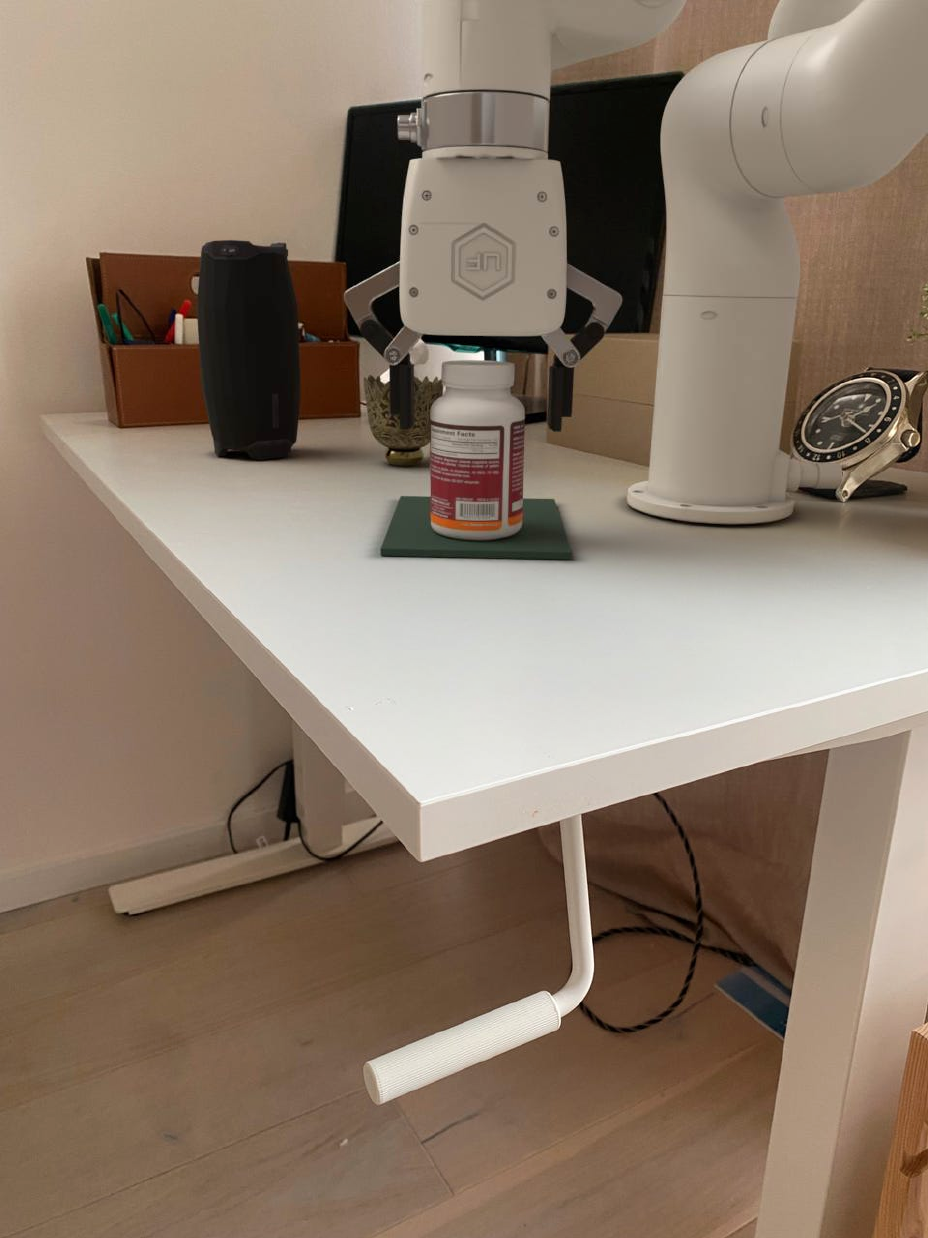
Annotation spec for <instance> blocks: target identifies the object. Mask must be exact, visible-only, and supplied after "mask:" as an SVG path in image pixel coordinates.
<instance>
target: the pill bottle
mask: <svg viewBox="0 0 928 1238" xmlns="http://www.w3.org/2000/svg"><path fill="white" fill-rule="evenodd" d="M515 369H516V368H515V363H514V362H508V361H502V360H500V361H499V360H485V359H484V360H483V359H482V360H480V359H478V360H477V359H462V360H459V359H458V360H447V361H443V362H441V373H440V379H441V381H442V385H443V386H444V387H445V390H444V392H443V395H442V396H441V397H439V398H438V399H437V400H436V401H435V402H434V403H433V405H432V407H431V411H430V443H429V446H430V447H429V448H430V450H429V451H430V452H429V453H430V457H429V458H430V459H429V461H430V467H429V468H430V472H429V473H430V474H429V475H430V477H429V478H430V479H429V480H430V497H431V525H432V528H433V530H434V531H435V532H436V533H438V534H440V535H443V536H446V537H450V538H455V539H462V540H477V541H485V540H495V539H500V538H505V537H509V536H511V535H514V534H515V533H517V532H518V531H519V530H520V529H521V526H522V517H523V498H524V469H525V467H524V465H525V461H524V460H525V429H526V428H525V427H526V426H525V425H526V411H525V406H524V404H523V403H522V402H521V400H520V399H519V398H517V397H516V396H513V395H512V392H511V387H513V386H515Z"/></svg>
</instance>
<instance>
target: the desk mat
mask: <svg viewBox="0 0 928 1238" xmlns="http://www.w3.org/2000/svg"><path fill="white" fill-rule="evenodd" d="M379 550H380V551H379V552H380V554H379V555H380V557H418V558H419V557H424V558H465V559H466V558H470V559H471V558H473V559H474V558H475V559H514V560H515V559H518V560H519V559H521V560H572V559H573V557H572V555H573V552H572V550H571V546H570V543H569V541H568V537H567V534H566V531H565V528H564V525H563V521H562V518H561V516H560V512H559V510H558V507H557V504H556V501H555V499H554V498H524V497H523V517H522V526H521V529H520V530H519V531H518V532H517V533H515V534H514V535H511V536H509V537H505V538H500V539H495V540H485V541H477V540H462V539H455V538H450V537H446V536H443V535H440V534H438V533H436V532H435V531H434V530H433V528H432V525H431V496H419V495H418V496H417V495H410V496H409V495H400V496H399V499H398V502H397V505H396V507H395V510H394V512H393V515H392V517H391V520H390V523H389V526H388V528H387V531H386V534H385V536H384V539H383V541H382V543H381V547H380V549H379Z"/></svg>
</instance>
